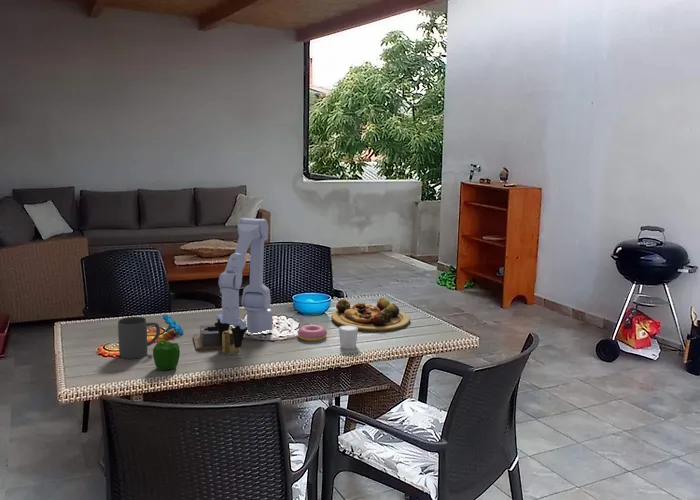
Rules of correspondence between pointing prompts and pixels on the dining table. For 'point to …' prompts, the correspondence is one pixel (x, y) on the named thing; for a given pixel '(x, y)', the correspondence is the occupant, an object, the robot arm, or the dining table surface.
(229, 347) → the keyed shaft
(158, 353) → the bell pepper
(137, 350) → the mug
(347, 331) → the shot glass
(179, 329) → the gear
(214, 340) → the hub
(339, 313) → the wooden plate with food
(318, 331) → the doughnut
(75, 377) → the dining table surface
